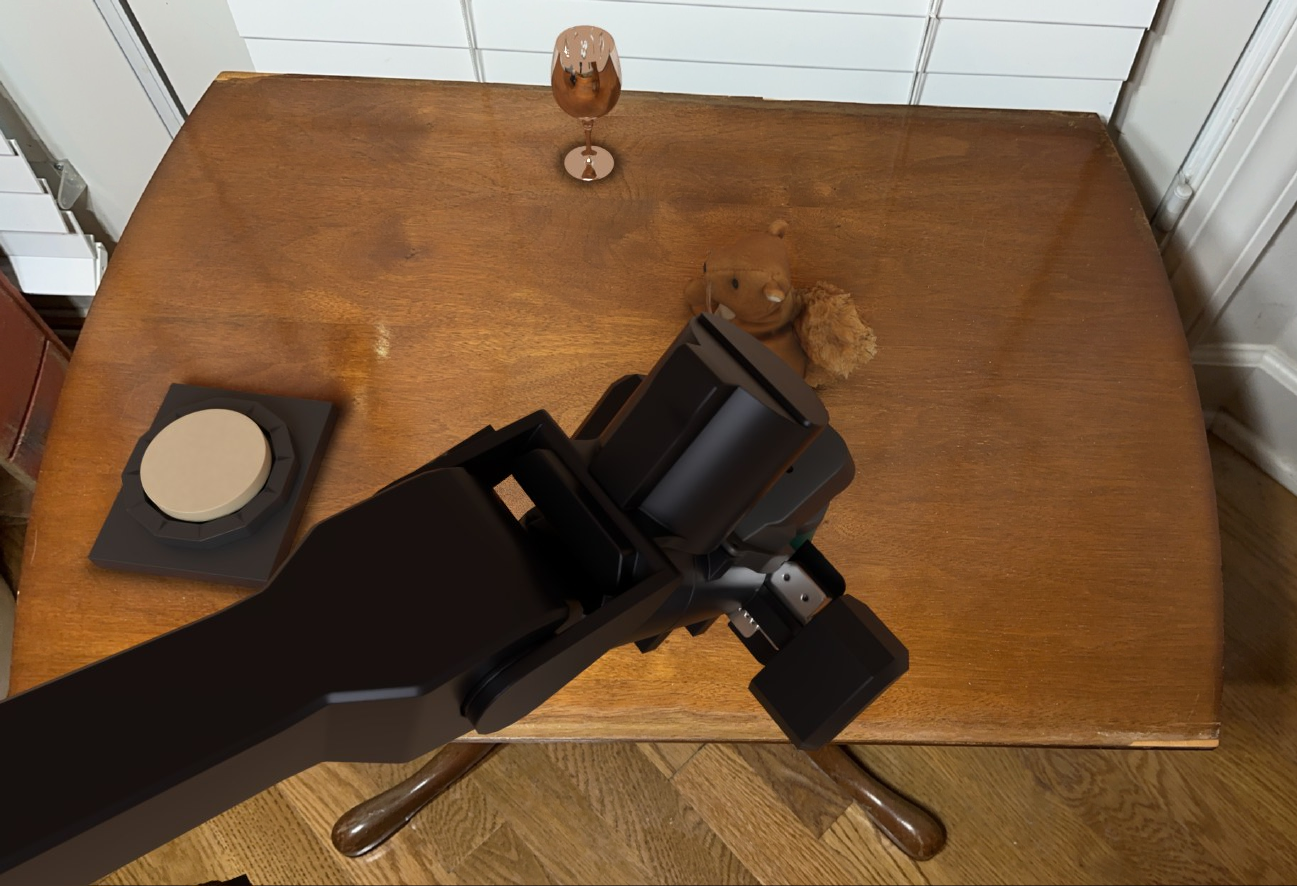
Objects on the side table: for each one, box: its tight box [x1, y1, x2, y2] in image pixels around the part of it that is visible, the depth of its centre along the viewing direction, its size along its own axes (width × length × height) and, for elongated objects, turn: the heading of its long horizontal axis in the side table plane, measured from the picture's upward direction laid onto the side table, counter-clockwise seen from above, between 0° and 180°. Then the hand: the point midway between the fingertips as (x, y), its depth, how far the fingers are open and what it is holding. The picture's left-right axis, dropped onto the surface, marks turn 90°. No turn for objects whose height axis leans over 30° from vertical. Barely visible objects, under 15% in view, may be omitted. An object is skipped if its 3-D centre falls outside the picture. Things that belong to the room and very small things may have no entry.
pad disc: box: [140, 409, 272, 522], centre depth 61 cm, size 8×8×1 cm
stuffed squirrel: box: [680, 218, 878, 388], centre depth 65 cm, size 10×14×13 cm
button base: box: [87, 382, 339, 590], centre depth 63 cm, size 14×12×3 cm
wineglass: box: [550, 24, 623, 182], centre depth 77 cm, size 6×6×12 cm
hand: (794, 535), depth 50 cm, fingers closed on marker, 3 cm apart
